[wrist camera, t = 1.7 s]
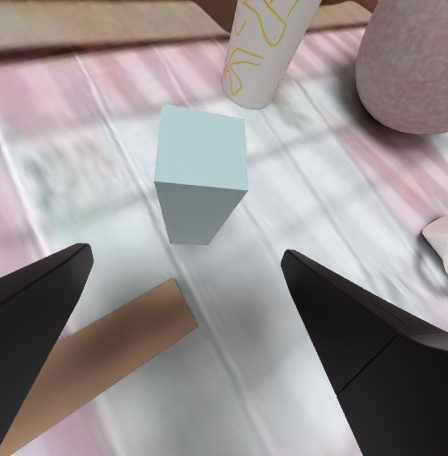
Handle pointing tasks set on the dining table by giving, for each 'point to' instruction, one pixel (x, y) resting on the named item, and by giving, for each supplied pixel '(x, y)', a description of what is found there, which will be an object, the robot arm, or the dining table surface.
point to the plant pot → (406, 66)
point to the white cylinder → (263, 47)
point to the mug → (438, 237)
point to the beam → (99, 360)
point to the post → (199, 172)
